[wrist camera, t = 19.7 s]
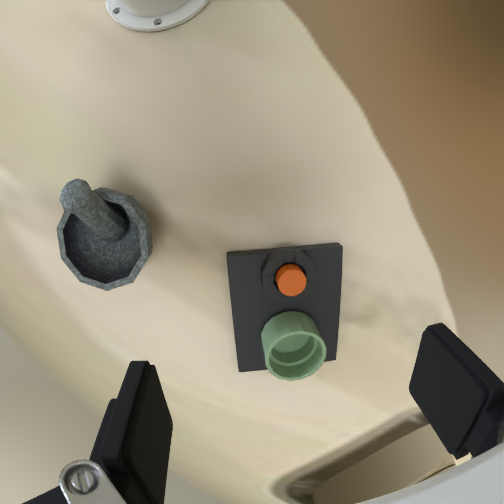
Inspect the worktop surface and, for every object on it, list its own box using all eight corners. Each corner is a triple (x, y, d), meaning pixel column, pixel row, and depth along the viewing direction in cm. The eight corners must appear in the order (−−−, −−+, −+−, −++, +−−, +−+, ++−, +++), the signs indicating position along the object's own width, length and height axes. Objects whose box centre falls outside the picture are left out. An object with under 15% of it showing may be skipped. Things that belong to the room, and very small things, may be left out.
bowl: (259, 312, 37) (264, 335, 32) (316, 305, 37) (327, 327, 33) (262, 358, 39) (266, 383, 35) (314, 351, 40) (324, 375, 35)
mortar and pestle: (164, 265, 36) (139, 318, 24) (90, 266, 35) (44, 313, 24) (158, 165, 32) (125, 175, 21) (80, 172, 32) (22, 186, 20)
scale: (226, 248, 36) (226, 257, 33) (338, 239, 37) (347, 246, 34) (238, 365, 41) (239, 380, 38) (332, 354, 42) (339, 367, 39)
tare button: (274, 265, 34) (277, 271, 32) (302, 262, 34) (306, 268, 33) (275, 290, 35) (278, 297, 33) (302, 287, 35) (306, 294, 34)
